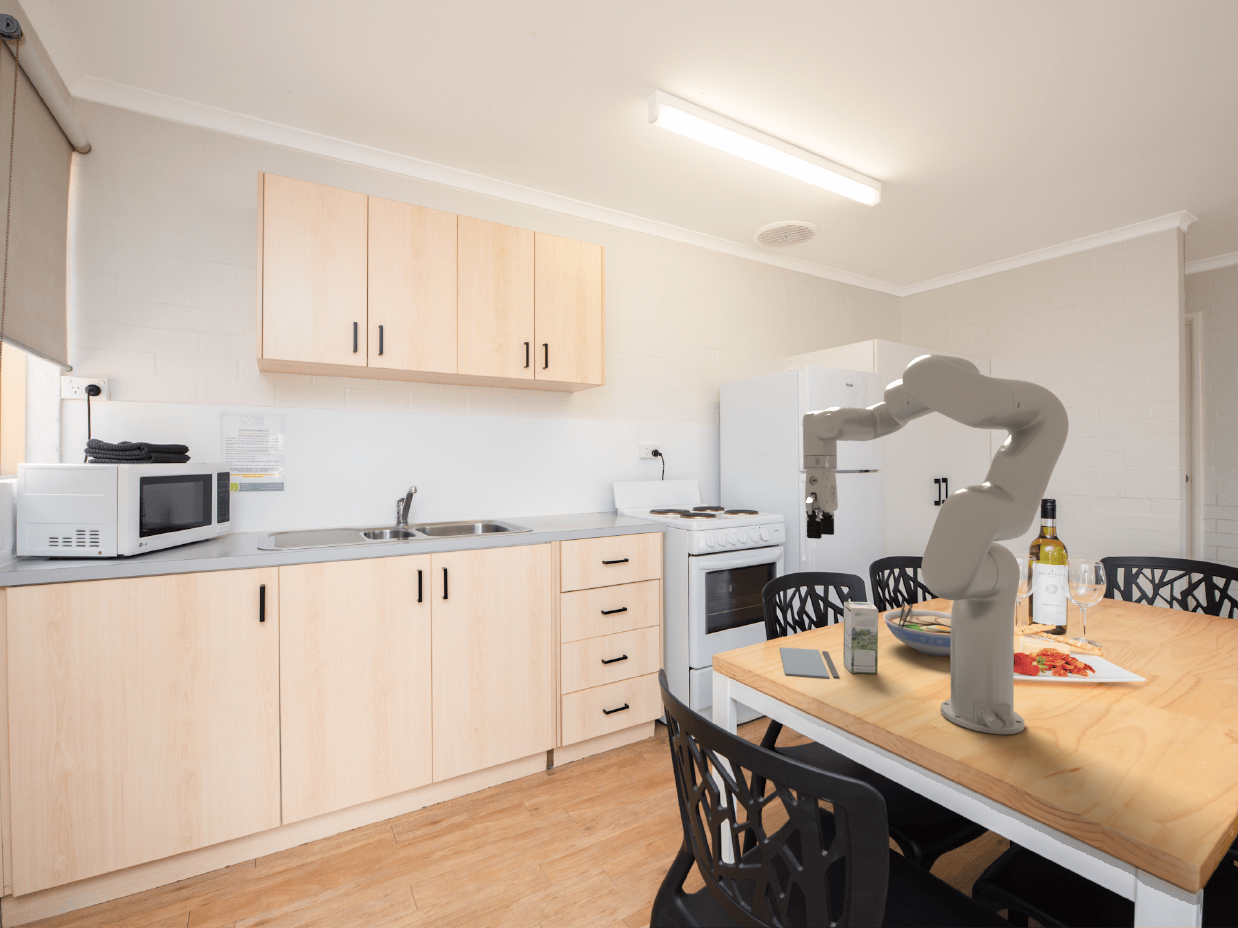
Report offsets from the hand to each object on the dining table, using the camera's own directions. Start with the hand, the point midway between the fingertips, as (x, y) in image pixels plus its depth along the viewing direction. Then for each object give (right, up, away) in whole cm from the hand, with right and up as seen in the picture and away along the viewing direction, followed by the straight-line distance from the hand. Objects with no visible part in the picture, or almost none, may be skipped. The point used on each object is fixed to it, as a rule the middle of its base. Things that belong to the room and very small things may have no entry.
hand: (820, 536), depth 136 cm
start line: (0, -28, -5) cm, 29 cm away
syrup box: (+6, -29, -8) cm, 30 cm away
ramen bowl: (+29, -29, +4) cm, 41 cm away
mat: (-6, -28, -4) cm, 29 cm away
